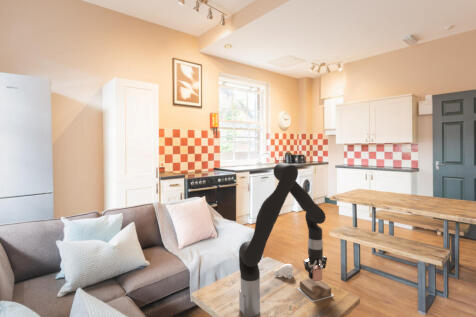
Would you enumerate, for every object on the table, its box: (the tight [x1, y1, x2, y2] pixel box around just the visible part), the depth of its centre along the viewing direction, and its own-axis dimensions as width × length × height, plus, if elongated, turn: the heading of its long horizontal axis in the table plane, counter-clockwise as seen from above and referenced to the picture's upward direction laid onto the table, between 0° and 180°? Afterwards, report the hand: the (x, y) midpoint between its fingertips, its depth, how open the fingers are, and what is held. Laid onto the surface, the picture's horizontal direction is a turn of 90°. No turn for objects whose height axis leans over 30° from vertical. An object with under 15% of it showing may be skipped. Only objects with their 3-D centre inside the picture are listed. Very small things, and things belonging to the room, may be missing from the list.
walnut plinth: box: [299, 278, 332, 300], centre depth 140 cm, size 11×12×4 cm
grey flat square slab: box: [296, 286, 335, 303], centre depth 140 cm, size 14×14×1 cm
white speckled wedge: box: [273, 263, 294, 280], centre depth 157 cm, size 6×8×12 cm
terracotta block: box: [311, 265, 323, 282], centre depth 140 cm, size 5×5×6 cm
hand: (315, 277), depth 140 cm, fingers closed on terracotta block, 5 cm apart
